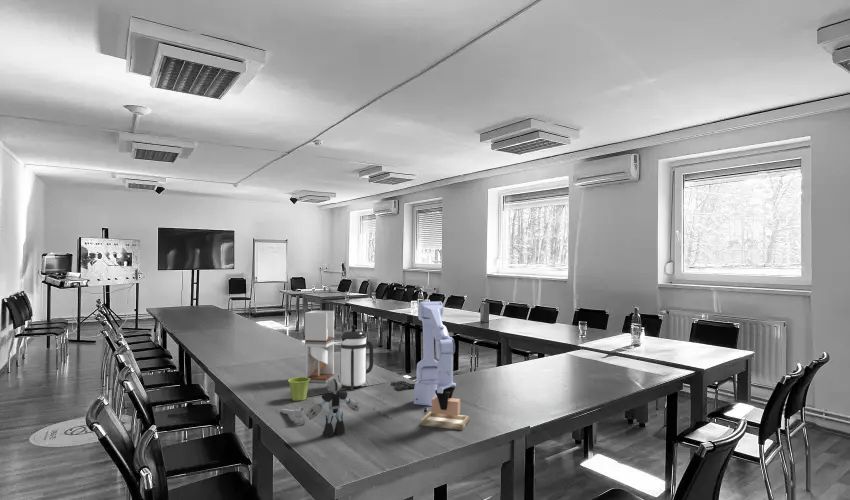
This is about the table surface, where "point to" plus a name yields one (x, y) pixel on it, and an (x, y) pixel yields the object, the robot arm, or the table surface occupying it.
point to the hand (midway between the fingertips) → (445, 407)
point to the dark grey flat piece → (402, 385)
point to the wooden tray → (445, 421)
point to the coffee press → (354, 358)
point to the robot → (333, 408)
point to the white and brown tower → (319, 345)
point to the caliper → (296, 414)
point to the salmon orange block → (452, 406)
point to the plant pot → (299, 388)
